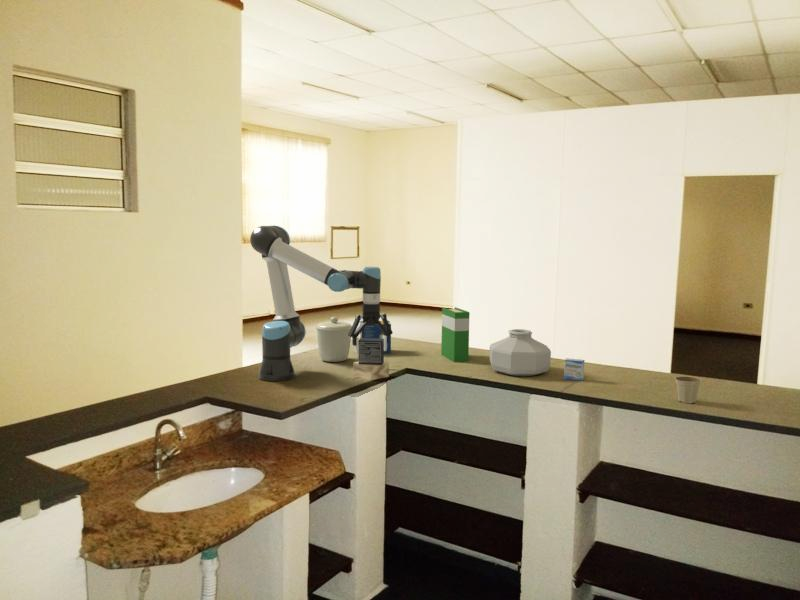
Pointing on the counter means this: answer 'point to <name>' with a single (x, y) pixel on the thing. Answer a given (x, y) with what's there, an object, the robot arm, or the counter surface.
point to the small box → (371, 351)
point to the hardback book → (455, 334)
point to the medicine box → (574, 369)
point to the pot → (520, 354)
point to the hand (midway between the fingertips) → (370, 351)
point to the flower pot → (687, 388)
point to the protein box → (376, 334)
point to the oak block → (371, 370)
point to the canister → (333, 340)
